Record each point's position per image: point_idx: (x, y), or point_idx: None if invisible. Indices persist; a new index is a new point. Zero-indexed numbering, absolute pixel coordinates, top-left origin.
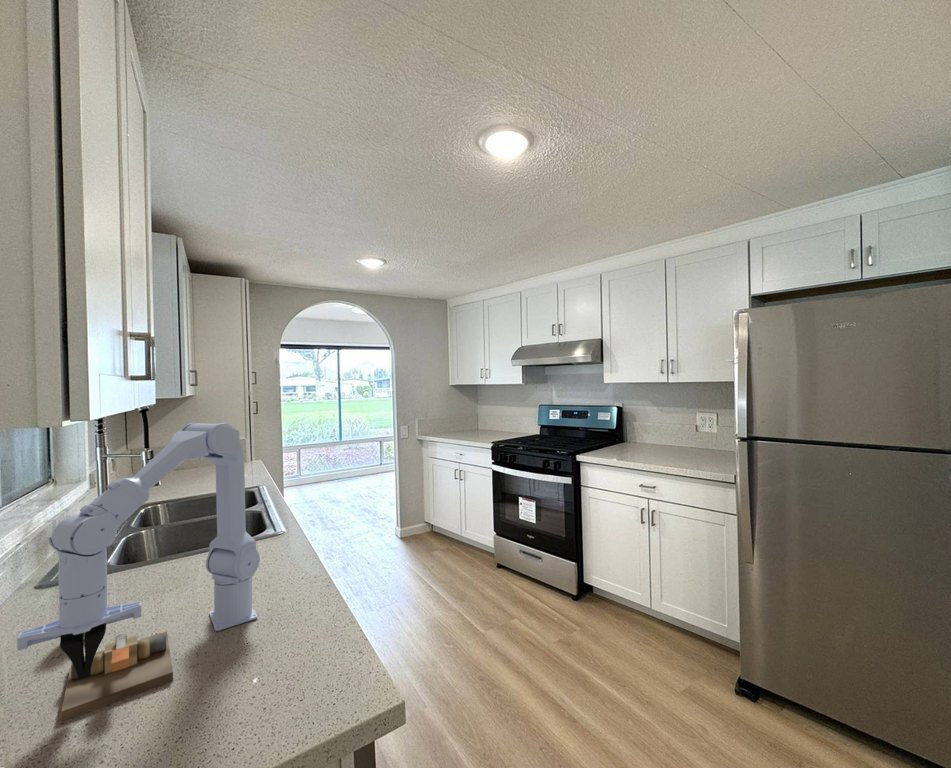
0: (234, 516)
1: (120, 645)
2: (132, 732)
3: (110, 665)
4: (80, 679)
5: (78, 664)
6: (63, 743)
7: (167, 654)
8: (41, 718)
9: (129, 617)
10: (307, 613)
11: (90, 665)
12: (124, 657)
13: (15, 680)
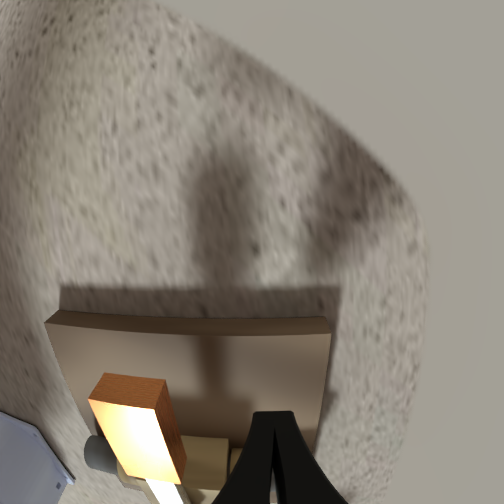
0: None
1: (166, 492)
2: (127, 105)
3: (211, 453)
4: (285, 411)
5: (298, 464)
6: (313, 187)
7: (86, 415)
8: (365, 361)
9: None
10: None
11: (248, 447)
12: (109, 416)
13: (380, 484)
